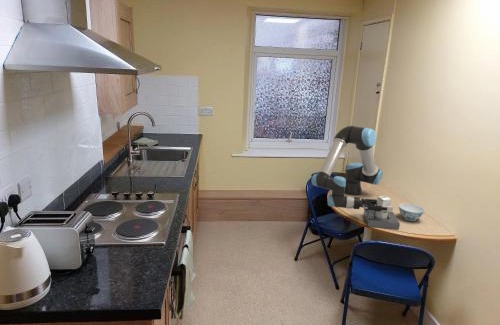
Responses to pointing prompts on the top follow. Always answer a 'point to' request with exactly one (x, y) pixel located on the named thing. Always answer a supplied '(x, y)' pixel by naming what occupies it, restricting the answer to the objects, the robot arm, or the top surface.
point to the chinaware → (411, 211)
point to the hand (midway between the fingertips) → (391, 206)
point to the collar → (381, 220)
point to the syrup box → (382, 202)
